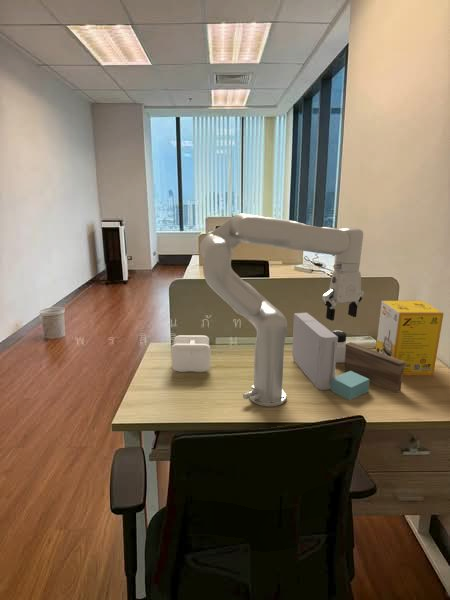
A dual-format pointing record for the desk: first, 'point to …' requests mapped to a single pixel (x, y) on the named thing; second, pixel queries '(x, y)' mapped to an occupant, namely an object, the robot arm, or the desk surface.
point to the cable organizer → (191, 353)
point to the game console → (314, 350)
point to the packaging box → (410, 334)
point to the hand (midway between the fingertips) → (341, 317)
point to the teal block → (350, 385)
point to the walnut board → (374, 366)
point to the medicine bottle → (340, 346)
